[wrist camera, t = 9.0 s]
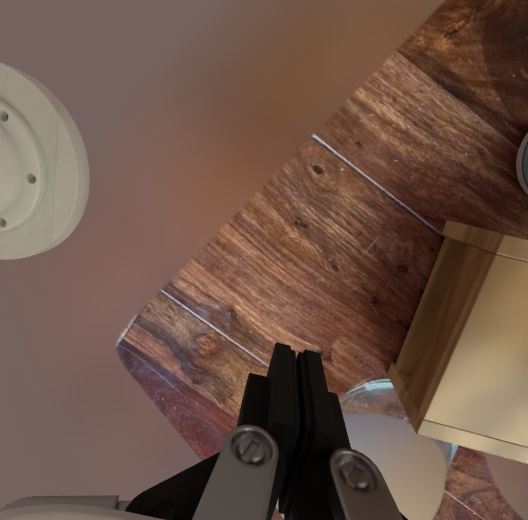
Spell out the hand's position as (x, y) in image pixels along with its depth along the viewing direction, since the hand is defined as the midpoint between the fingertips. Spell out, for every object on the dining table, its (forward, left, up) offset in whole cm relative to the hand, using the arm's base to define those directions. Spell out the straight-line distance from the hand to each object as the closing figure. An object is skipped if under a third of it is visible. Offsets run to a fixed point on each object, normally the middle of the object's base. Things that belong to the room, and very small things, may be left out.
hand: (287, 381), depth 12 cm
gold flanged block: (+16, 0, -15) cm, 22 cm away
